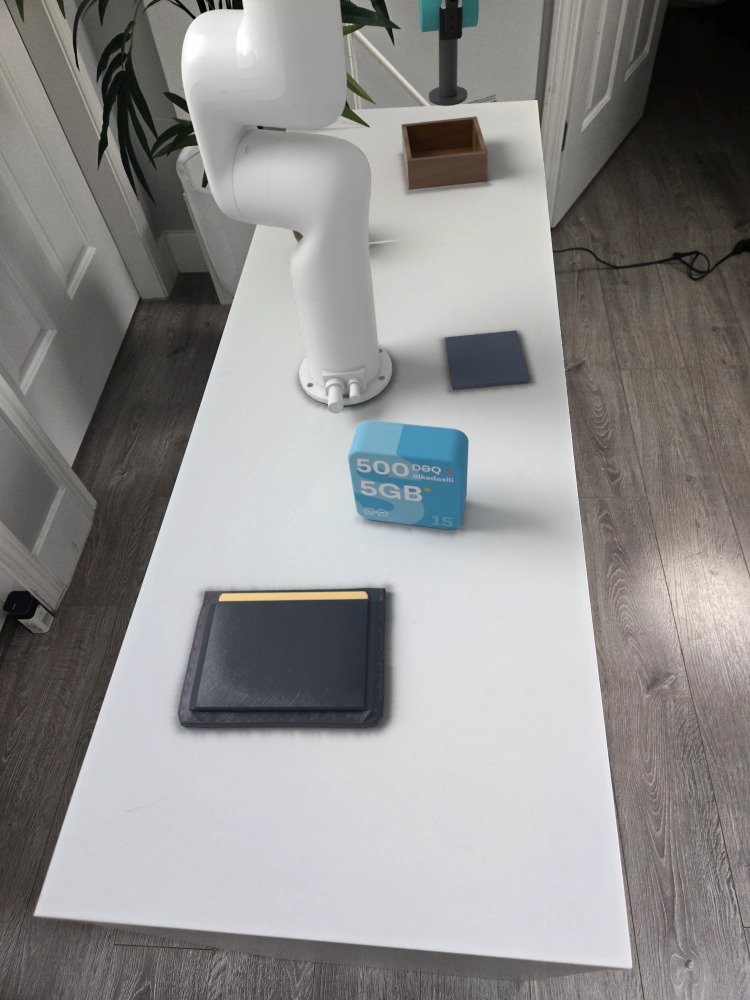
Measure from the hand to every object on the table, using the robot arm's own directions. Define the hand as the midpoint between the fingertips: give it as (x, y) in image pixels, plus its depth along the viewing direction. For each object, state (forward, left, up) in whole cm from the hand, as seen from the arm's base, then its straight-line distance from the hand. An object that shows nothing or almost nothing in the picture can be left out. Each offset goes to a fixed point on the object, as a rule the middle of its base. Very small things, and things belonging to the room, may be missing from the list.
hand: (448, 29), depth 104 cm
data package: (-68, +12, -25) cm, 73 cm away
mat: (-44, 0, -25) cm, 51 cm away
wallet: (-85, +26, -25) cm, 92 cm away
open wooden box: (+8, 0, -25) cm, 26 cm away
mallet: (0, 0, -9) cm, 9 cm away
